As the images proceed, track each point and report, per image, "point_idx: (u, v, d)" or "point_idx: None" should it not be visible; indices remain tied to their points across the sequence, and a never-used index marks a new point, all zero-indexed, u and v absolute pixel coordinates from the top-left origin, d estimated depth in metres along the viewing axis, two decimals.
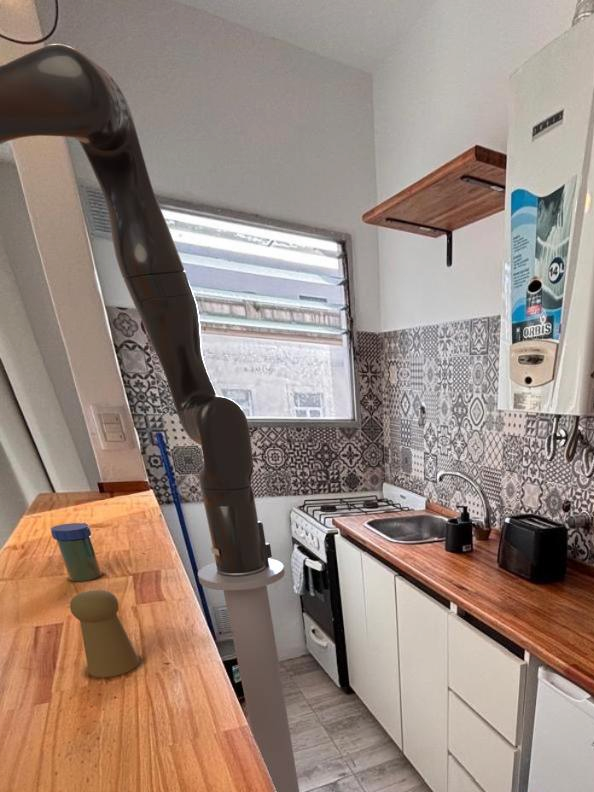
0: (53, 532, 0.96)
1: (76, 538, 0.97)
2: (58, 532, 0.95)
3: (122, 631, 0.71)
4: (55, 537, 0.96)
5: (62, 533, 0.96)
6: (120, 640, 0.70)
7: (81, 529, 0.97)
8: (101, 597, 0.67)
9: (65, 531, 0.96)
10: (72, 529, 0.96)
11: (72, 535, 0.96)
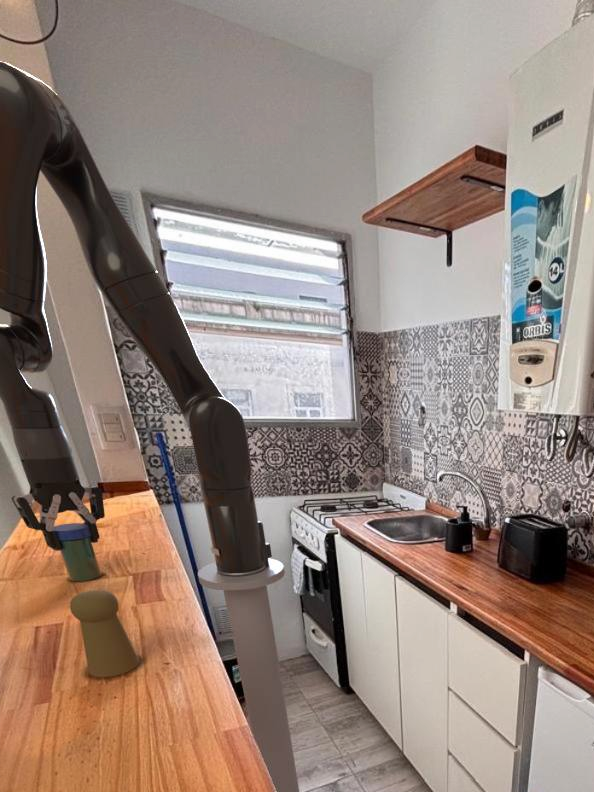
0: None
1: (76, 538, 0.97)
2: (58, 532, 0.95)
3: (122, 631, 0.71)
4: None
5: (62, 533, 0.95)
6: (120, 640, 0.70)
7: (81, 529, 0.97)
8: (101, 597, 0.67)
9: (65, 531, 0.96)
10: (72, 529, 0.96)
11: (72, 535, 0.96)
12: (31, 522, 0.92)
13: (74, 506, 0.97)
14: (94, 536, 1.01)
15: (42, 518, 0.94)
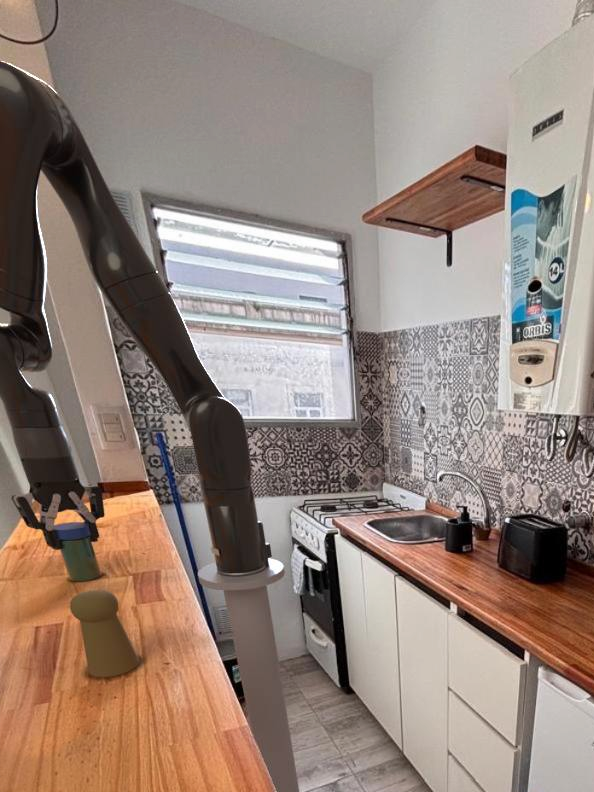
0: (71, 531, 0.96)
1: (90, 533, 1.00)
2: (79, 529, 0.97)
3: (122, 631, 0.71)
4: (73, 536, 0.96)
5: (83, 529, 0.97)
6: (120, 640, 0.70)
7: (87, 524, 1.00)
8: (101, 597, 0.67)
9: (84, 527, 0.98)
10: (83, 525, 0.99)
11: (88, 530, 0.99)
12: (31, 521, 0.92)
13: (74, 505, 0.97)
14: (94, 536, 1.01)
15: (42, 517, 0.94)
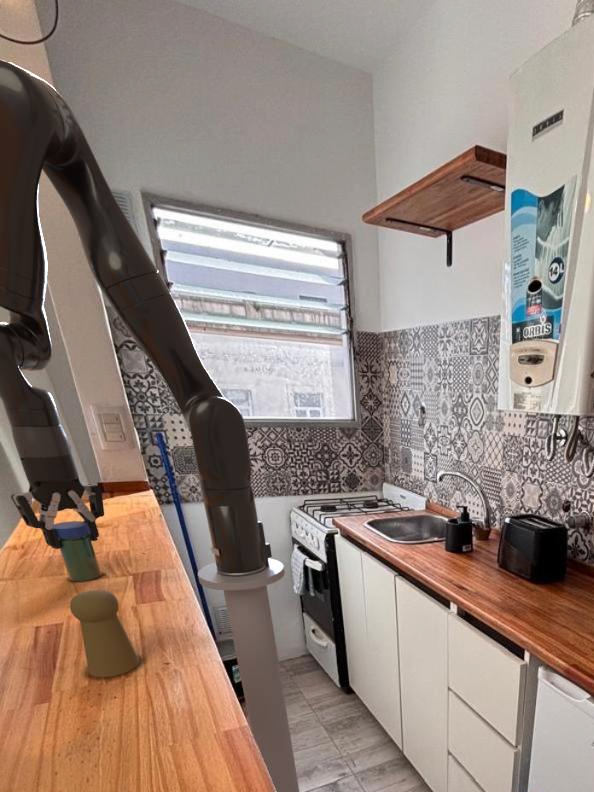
0: (87, 526, 0.99)
1: None
2: None
3: (122, 631, 0.71)
4: (89, 531, 0.99)
5: None
6: (120, 640, 0.70)
7: None
8: (101, 597, 0.67)
9: None
10: (78, 522, 1.00)
11: None
12: (30, 520, 0.91)
13: (73, 504, 0.97)
14: (93, 535, 1.01)
15: (41, 516, 0.94)
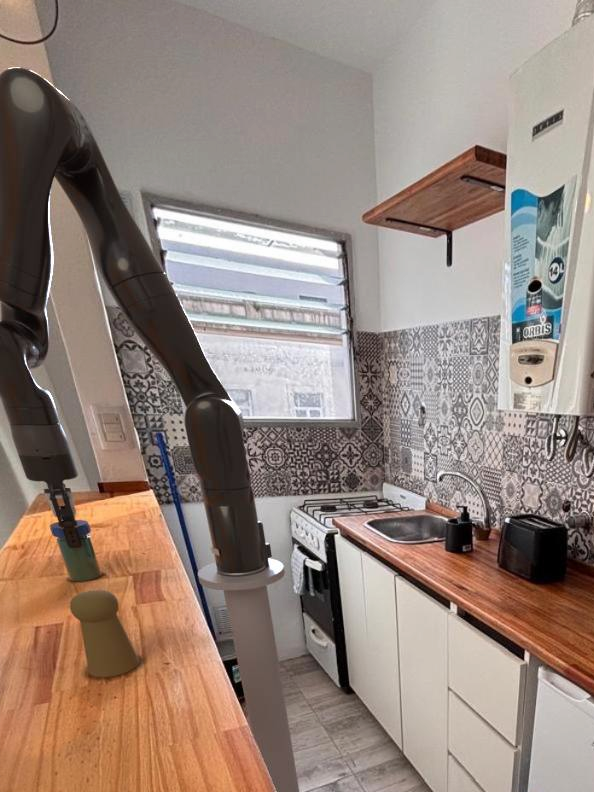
0: None
1: None
2: None
3: (122, 631, 0.71)
4: None
5: None
6: (120, 640, 0.70)
7: None
8: (101, 597, 0.67)
9: None
10: None
11: None
12: (74, 518, 0.93)
13: None
14: None
15: (60, 517, 0.94)
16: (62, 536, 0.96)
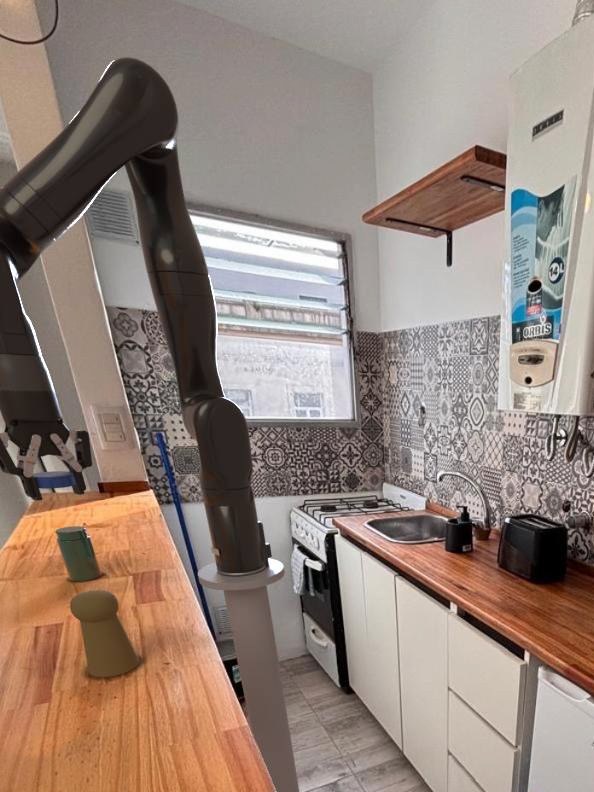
0: (72, 476, 0.87)
1: None
2: (73, 474, 0.88)
3: (122, 631, 0.71)
4: (74, 482, 0.88)
5: None
6: (120, 640, 0.70)
7: None
8: (101, 597, 0.67)
9: None
10: (62, 472, 0.88)
11: None
12: (6, 465, 0.80)
13: (57, 450, 0.85)
14: (80, 487, 0.90)
15: (20, 462, 0.83)
16: None
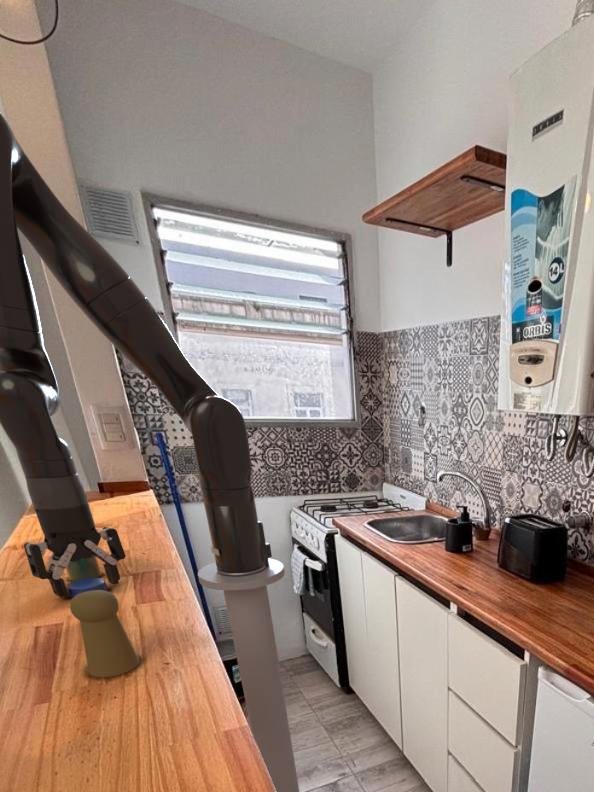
0: (104, 584, 0.95)
1: None
2: None
3: (122, 631, 0.71)
4: (106, 589, 0.96)
5: None
6: (120, 640, 0.70)
7: None
8: (101, 597, 0.67)
9: None
10: (94, 579, 0.96)
11: None
12: (38, 570, 0.87)
13: (92, 552, 0.93)
14: (115, 578, 0.98)
15: (51, 565, 0.90)
16: (69, 594, 0.94)
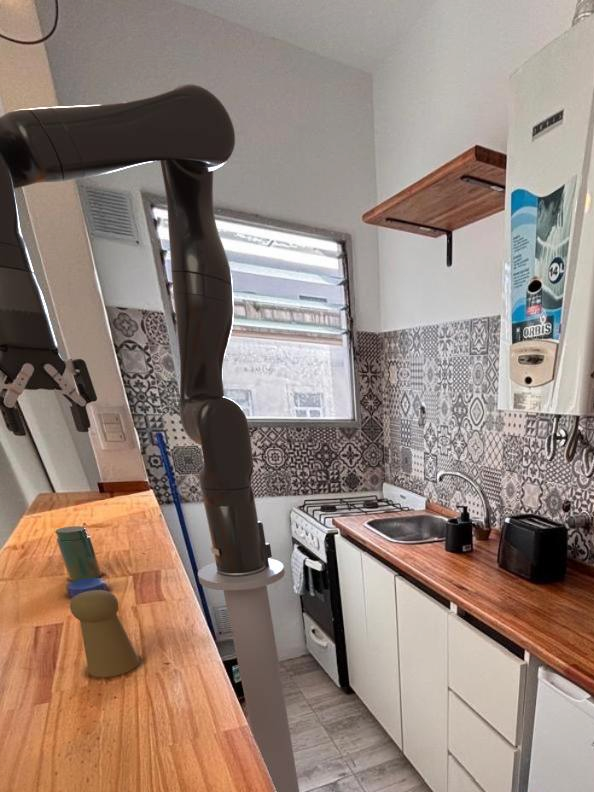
0: (104, 584, 0.95)
1: None
2: None
3: (122, 631, 0.71)
4: (106, 589, 0.96)
5: None
6: (120, 640, 0.70)
7: None
8: (101, 597, 0.67)
9: None
10: (94, 579, 0.96)
11: None
12: None
13: (55, 384, 0.77)
14: (84, 424, 0.81)
15: (2, 391, 0.73)
16: (69, 594, 0.94)
